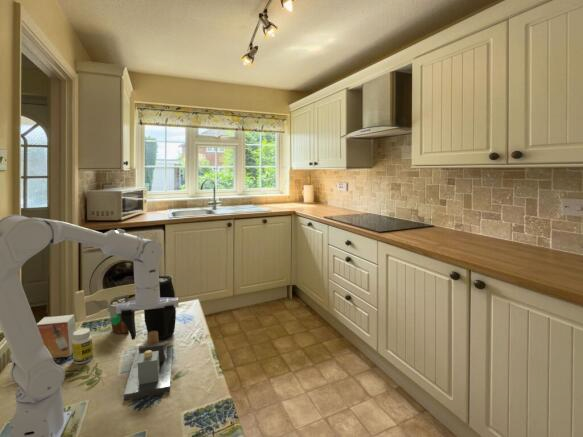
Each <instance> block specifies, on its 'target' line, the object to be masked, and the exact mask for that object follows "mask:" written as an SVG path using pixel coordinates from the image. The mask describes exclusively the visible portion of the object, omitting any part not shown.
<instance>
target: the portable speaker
mask: <svg viewBox="0 0 583 437" xmlns="http://www.w3.org/2000/svg"><path fill="white" fill-rule="evenodd" d="M173 284H174V283H173V278H172V276H171V275H159V289H160V298H176V291H175V288H174V285H173ZM176 308H177V307H174V312H173V314H172V316H171V319H170V321H169V325H168V332H167V335H164V316H163V310H164V308H156V309H147V310H143V313H144V314H143V315H144V317H143V318H144V323H145V327H146V331H147V332H146V334H147V333H148V332H150V331H158V341H159V342H166V341H168V340H170V339H171V338H173V335H174V333H175V329H176V319H177V318H176V317H177V311H176V310H177V309H176Z"/></svg>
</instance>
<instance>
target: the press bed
mask: <svg viewBox="0 0 583 437" xmlns="http://www.w3.org/2000/svg"><path fill="white" fill-rule="evenodd" d="M173 356H174V344H173V345H172V344H170V345H168V344H167V343H164V362H159V368H160V372H159V380H158V381H156V382H151V383H145V384H139V379H138V359H139V349H136V351H135V354H134V358H133V362H132V365H131V368H130V372H129V376H128V378H127V383H126V386H125V389H124V392H123V401H129V400H133V399H140V398H145V397H151V396H155V395H160V394H168V393H171V385H172V371H173V358H174V357H173Z"/></svg>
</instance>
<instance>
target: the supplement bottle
mask: <svg viewBox="0 0 583 437" xmlns="http://www.w3.org/2000/svg"><path fill="white" fill-rule="evenodd" d="M72 350H73V352H72V361H73V363H74V364H76V365H81V364H85V363H88V362H90V361H91V360H93V357H94V348H93V336H92V335H91V330H90V329H89V328H81V329H78V330H77V329H76V331H75V332H74V333H73V340H72Z"/></svg>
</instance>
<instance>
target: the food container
mask: <svg viewBox="0 0 583 437" xmlns="http://www.w3.org/2000/svg"><path fill="white" fill-rule="evenodd" d="M125 302H130V301H129V294H124V295H123V294H122V295H120V296H117V297H114V298H112V299H110V300H109V301H108V303H107V307H106V310H107V312H109V315H110V316H109V317H110V322H111V328H112V329H111V330H112V333H113V334H115V335H121V336H123V335H130V332H129V330H128V328H127V326H126V325H125V323H124V322H123V321H122V320H121V313H120V314H116V306H117V304H119V303H125Z"/></svg>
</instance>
